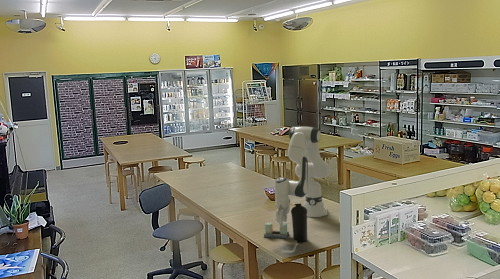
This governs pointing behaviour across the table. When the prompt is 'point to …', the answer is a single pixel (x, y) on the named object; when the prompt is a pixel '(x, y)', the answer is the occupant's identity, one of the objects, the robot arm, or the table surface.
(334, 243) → the table surface
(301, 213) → the water bottle
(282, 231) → the pale green block
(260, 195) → the table surface
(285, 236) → the rail
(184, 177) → the table surface
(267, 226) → the green and orange block
